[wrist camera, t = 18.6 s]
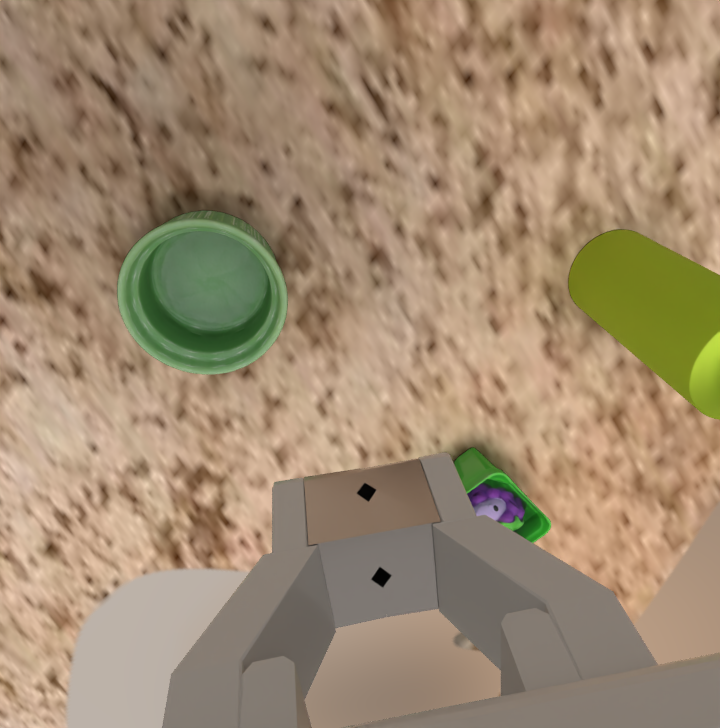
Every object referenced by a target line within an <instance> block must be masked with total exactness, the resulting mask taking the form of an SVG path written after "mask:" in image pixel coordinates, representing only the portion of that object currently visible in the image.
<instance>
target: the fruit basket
mask: <svg viewBox="0 0 720 728" xmlns="http://www.w3.org/2000/svg"><path fill="white" fill-rule="evenodd" d="M454 465H455V467H456V470H457V472H458V474H459V477H460V479H461V481H462V484H463V486H464V488H465V490H466V493H467V495H468V497H469V500H470V502H471V504H472V506H473V509H474V511H475V513H476V516H481V515H487V516H488V517H490V518H492V519H493V520H495V521H497V522H498V523H500V524H502V525H503V526H505V527H507V528H508V529H510V530H512V531H513V532H515V533H517V534H518V535H520V536H522V537H523V538H525V539H527V540H528V541H530V542H532V543H534V542H535V541H537V540H538V539H540V538H541V537H542V536H544V535H545V534H546V533H548V531H549V530H550V528H551V521H550V520H549V519H548V518H547V517H546V516H545V515H544V514H543V513H542V512H541V511H540V510H539V509H538V508H537V507H536V505H535V504H534V503H533V502H532V501H531V500H530V499H529V498H528V497H527V496H526V495H525V494H524V493H523V492H522V491H521V490H520V489H519V488H518V487H517V486H516V484H515V483H514V482H513V481H512V480H511V479H510V478H509V477H508V476H507V475H506V474H505V473H504V472H503V471H502V470H500V469H498V468H496V467H495V466H494V465H493V464H491V463H490V462H489V461H488V460H487V459H486V458H485V457H484V456H483V455H482V454H481V453H480V452H479V451H478V450H476V449H475V448H470V449H469V450H467V451H466V452H465V453H463V454H462V455H460V456H459V457H458V458H457V459H456V460H455V461H454Z"/></svg>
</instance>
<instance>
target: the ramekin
mask: <svg viewBox="0 0 720 728" xmlns="http://www.w3.org/2000/svg"><path fill="white" fill-rule="evenodd" d="M117 298H118V305H119V310H120V313H121V316H122V319H123V321H124V323H125V326H126V327H127V329H128V331H129V332H130V334H131V335H132V337H133V338H134V339H135V341H136V342H137V343H138V344H139V345H140V346H141V347H142V348H143V349H144V350H145V351H146V352H147V353H148V354H150V355H151V356H153V357H154V358H155V359H157V360H159V361H161V362H162V363H164V364H166V365H168V366H171V367H173V368H176V369H178V370H182V371H185V372H190V373H196V374H221V373H227V372H232V371H235V370H237V369H240V368H243V367H245V366H247V365H249V364H251V363H252V362H254V361H255V360H257V359H258V358H260V357H261V356H262V355H263V354H264V353H265V352H266V351H267V350H268V349H269V348H270V347H271V346H272V345H273V343H274V342H275V340H276V339H277V337H278V336H279V334H280V332H281V330H282V328H283V325H284V322H285V319H286V314H287V307H288V295H287V288H286V283H285V280H284V277H283V274H282V272H281V269H280V267H279V266H278V264H277V262H276V259H275V256H274V254H273V252H272V250H271V248H270V246H269V245H268V243H267V242H266V241H265V239H264V238H263V237H262V236H261V235H260V234H259V233H258V232H257V231H256V230H255V229H254V228H253V227H251V226H250V225H249V224H247V223H245V222H244V221H243V220H241V219H238V218H236V217H234V216H232V215H229V214H226V213H222V212H216V211H195V212H190V213H186V214H182V215H180V216H177V217H175V218H173V219H171V220H170V221H168V222H166V223H164V224H163V225H161V226H159V227H157V228H155V229H153V230H152V231H150V232H149V233H147V234H146V235H145V236H143V237H142V238H141V239H140V240H139V241H138V242H137V243H136V244H135V245H134V246H133V248H132V249H131V250H130V251H129V253H128V254H127V256H126V258H125V260H124V262H123V264H122V267H121V270H120V273H119V278H118V283H117Z"/></svg>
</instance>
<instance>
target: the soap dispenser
mask: <svg viewBox="0 0 720 728" xmlns="http://www.w3.org/2000/svg"><path fill="white" fill-rule="evenodd" d="M568 284H569V291H570V295H571V297H572V299H573V301H574V302H575V304H576V305H577V306H578V307H579V308H580V309H581V310H583V311H584V312H585V313H586V314H587V315H588V316H590V317H591V318H592V319H593V320H594V321H595V322H597V323H598V324H599V325H600V326H601V327H602V328H604V329H605V330H606V331H607V332H608V333H609V334H611V335H612V336H613V337H614V338H615V339H616V340H618V341H619V342H620V343H621V344H622V345H623V346H624V347H626V348H627V349H628V350H629V351H630V352H631V353H633V354H634V355H635V356H636V357H637V358H638V359H640V360H641V361H642V362H643V363H644V364H645V365H647V366H648V367H649V368H650V369H651V370H652V371H654V372H655V373H656V374H657V375H658V376H659V377H661V378H662V379H663V380H664V381H665V382H666V383H668V384H669V385H670V386H671V387H672V388H673V389H674V390H676V391H677V392H678V393H679V394H680V395H681V396H683V397H684V398H685V399H686V400H687V401H688V402H690V403H691V404H692V405H693V406H694V407H695V408H697V409H698V410H699V411H700V412H701V413H703V414H705V415H706V416H709V417H711V418H714V419H719V420H720V275H718V274H716V273H714V272H712V271H711V270H709V269H707V268H705V267H703V266H701V265H699V264H697V263H695V262H693V261H691V260H689V259H687V258H685V257H683V256H682V255H680V254H678V253H676V252H674V251H672V250H670V249H668V248H666V247H664V246H662V245H660V244H658V243H656V242H654V241H653V240H651V239H649V238H647V237H645V236H643V235H641V234H639V233H637V232H634V231H631V230H614V231H610V232H606V233H604V234H602V235H600V236H598V237H596V238H595V239H593V240H592V241H590V242H589V243H588V244H587V245H586V246H585V247H584V248H583V249H582V250H581V251H580V253H579V254H578V255H577V257H576V258H575V260H574V262H573V264H572V267H571V270H570V274H569V281H568Z"/></svg>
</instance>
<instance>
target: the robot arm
mask: <svg viewBox="0 0 720 728" xmlns="http://www.w3.org/2000/svg"><path fill="white" fill-rule="evenodd" d="M433 609H439V611H440V612H441V613H442V614H443V615H444V616H445V617H446V618H447V619H448V620H449V621H450V622H451V623H452V624H453V625H454V626H455V627H456V628H457V629H458V630H459V631H460V632H461V633H462V634H463V635H464V636H465V637H467V638H468V639H469V640H470V641H471V642H472V643H473V644H474V645H475V646H476V647H477V648H478V649H479V650H480V651H481V652H482V653H483V654H484V655H485V656H486V657H487V658H488V659H489V660H490V661H491V662H492V663H493V664H494V665H495V666H497V667H498V668H499V669H500V670H501V696H499V697H495V698H489V699H485V700H479V701H474V702H469V703H464V704H459V705H454V706H449V707H444V708H439V709H434V710H429V711H424V712H419V713H414V714H409V715H404V716H399V717H394V718H389V719H383V720H378V721H373V722H368V723H363V724H358V725H353V726H348V727H343V728H720V653H716V654H711V655H706V656H700V657H695V658H690V659H686V660H681V661H675V662H670V663H665V664H660V665H658V664H657V662H656V661H655V659H654V657H653V656H652V654H651V652H650V651H649V649H648V648H647V646H646V644H645V643H644V641H643V640H642V638H641V636H640V635H639V633H638V631H637V630H636V629H635V627H634V625H633V623H632V622H631V620H630V619H629V617H628V615H627V614H626V612H625V610H624V609H623V607H622V606H621V604H620V602H619V601H618V599H617V598H616V596H615V594H614V593H613V591H611V590H609V589H608V588H606V587H604V586H603V585H601V584H600V583H598V582H596V581H595V580H593V579H591V578H590V577H588V576H586V575H585V574H583V573H581V572H580V571H578V570H576V569H575V568H573V567H571V566H570V565H568V564H566V563H565V562H563V561H561V560H560V559H558V558H556V557H555V556H553V555H551V554H550V553H548V552H546V551H545V550H543V549H541V548H540V547H538V546H536V545H535V544H533V543H532V542H530V541H528V540H527V539H525V538H523V537H522V536H520V535H518V534H517V533H515V532H513V531H512V530H510V529H508V528H507V527H505V526H503V525H502V524H500V523H498V522H497V521H495V520H493V519H492V518H490V517H488V516H487V515H481V516H476V513H475V511H474V509H473V506H472V504H471V502H470V500H469V497H468V495H467V493H466V490H465V488H464V486H463V484H462V481H461V479H460V477H459V474H458V472H457V470H456V467H455V465H454V463H453V461H452V458H451V456H450V454H448V453H447V452H444V453H439V454H434V455H429V456H424V457H419V458H418V459H412V460H407V461H401V462H396V463H390V464H385V465H379V466H374V467H368V468H361V469H354V470H348V471H341V472H334V473H328V474H321V475H315V476H308V477H304V478H297V479H291V480H285V481H279V482H274V485H273V488H272V553H270V554H265V555H263V556H262V557H261V558H260V560H259V561H258V562H257V563H256V565H255V566H254V567H253V569H252V570H251V571H250V573H249V574H248V575H247V576H246V578H245V579H244V581H243V582H242V583H241V584H240V586H239V587H238V588H237V590H236V591H235V592H234V593H233V595H232V596H231V597H230V599H229V600H228V601H227V603H226V604H225V605H224V606H223V608H222V609H221V610H220V612H219V613H218V614H217V616H216V617H215V618H214V620H213V621H212V622H211V623H210V625H209V626H208V627H207V629H206V630H205V631H204V632H203V634H202V635H201V637H200V638H199V639H198V640H197V642H196V643H195V644H194V646H193V647H192V648H191V650H190V651H189V652H188V653H187V655H186V656H185V657H184V658H183V660H182V661H181V662H180V664H179V665H178V666H177V668H176V669H175V670H174V672H173V673H172V674H171V679H170V685H169V691H168V696H167V702H166V708H165V714H164V720H163V726H162V728H312V727H311V723H310V719H309V716H308V712H307V708H306V704H305V701H304V700H305V698H306V695H307V693H308V691H309V689H310V687H311V685H312V682H313V680H314V678H315V676H316V673H317V671H318V669H319V667H320V665H321V663H322V660H323V658H324V656H325V654H326V652H327V650H328V647H329V645H330V643H331V641H332V639H333V636H334V634H335V632H336V631H335V628H338V627H343V626H348V625H352V624H357V623H361V622H366V621H371V620H375V619H380V618H384V617H390V616H396V615H402V614H409V613H415V612H421V611H427V610H433Z"/></svg>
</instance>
